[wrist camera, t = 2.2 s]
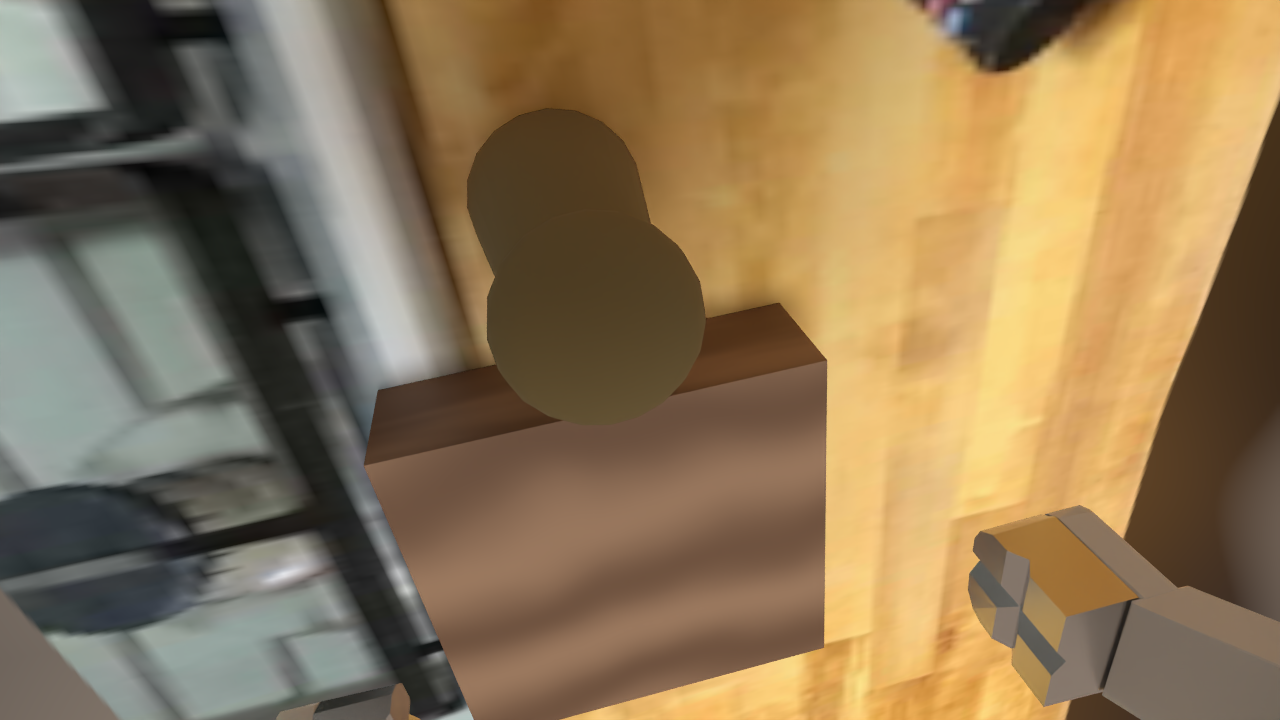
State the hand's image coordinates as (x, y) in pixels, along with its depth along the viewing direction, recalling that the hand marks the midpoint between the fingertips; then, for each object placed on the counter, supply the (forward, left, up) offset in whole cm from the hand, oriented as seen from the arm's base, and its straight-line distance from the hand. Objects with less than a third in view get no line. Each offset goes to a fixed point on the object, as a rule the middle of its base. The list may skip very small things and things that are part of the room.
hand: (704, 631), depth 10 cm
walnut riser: (+14, 0, -19) cm, 23 cm away
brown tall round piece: (0, 0, -18) cm, 18 cm away
